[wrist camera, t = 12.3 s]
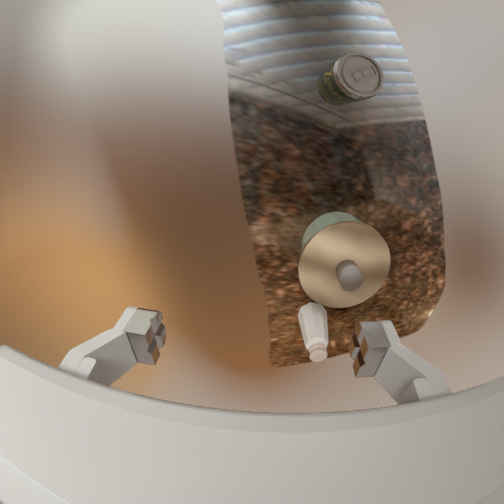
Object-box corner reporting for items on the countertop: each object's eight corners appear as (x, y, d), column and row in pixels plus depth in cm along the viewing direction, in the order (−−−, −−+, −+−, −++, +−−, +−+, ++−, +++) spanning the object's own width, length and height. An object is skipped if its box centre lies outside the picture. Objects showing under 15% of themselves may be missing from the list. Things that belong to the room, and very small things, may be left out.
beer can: (342, 65, 30) (369, 44, 19) (359, 97, 32) (393, 90, 21) (309, 78, 31) (325, 59, 21) (327, 111, 33) (350, 106, 23)
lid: (302, 217, 33) (306, 229, 30) (396, 224, 33) (409, 236, 29) (293, 302, 39) (295, 320, 36) (376, 304, 38) (383, 320, 35)
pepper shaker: (332, 309, 48) (343, 353, 38) (313, 328, 50) (319, 372, 40) (309, 296, 47) (317, 340, 37) (291, 316, 49) (293, 361, 39)
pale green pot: (304, 208, 40) (310, 225, 34) (372, 213, 39) (389, 231, 33) (298, 272, 45) (301, 297, 39) (360, 275, 44) (372, 298, 38)
